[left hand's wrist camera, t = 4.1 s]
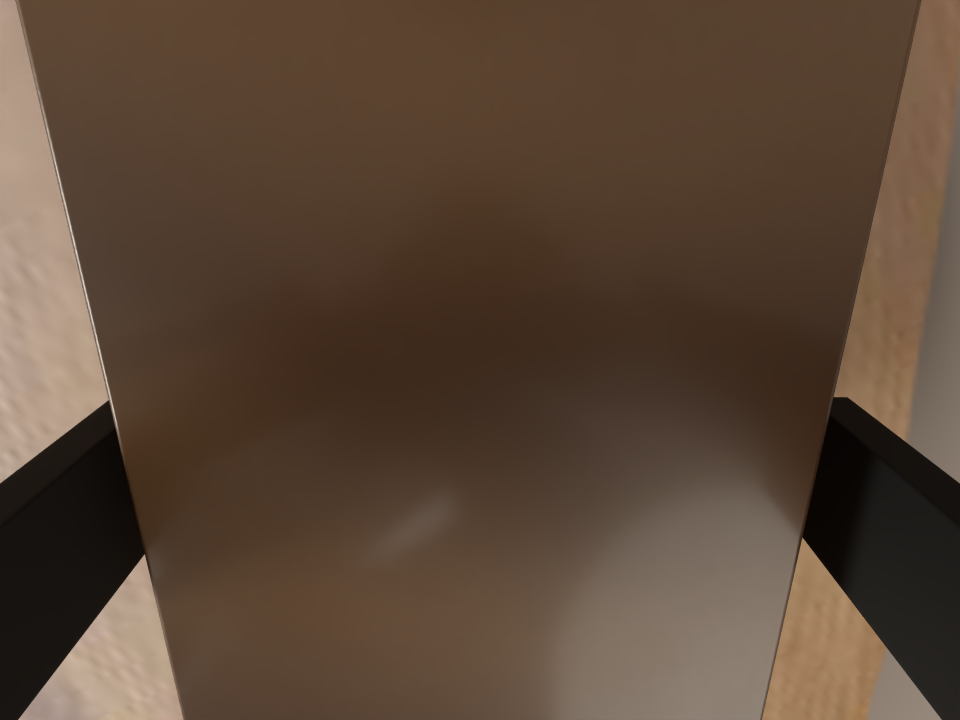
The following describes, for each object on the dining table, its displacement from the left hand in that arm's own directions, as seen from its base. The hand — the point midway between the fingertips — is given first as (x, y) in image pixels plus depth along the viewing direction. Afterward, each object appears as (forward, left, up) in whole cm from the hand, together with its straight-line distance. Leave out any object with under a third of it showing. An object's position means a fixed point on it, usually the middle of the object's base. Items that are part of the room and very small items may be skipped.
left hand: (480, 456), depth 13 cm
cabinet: (+4, 0, -9) cm, 10 cm away
